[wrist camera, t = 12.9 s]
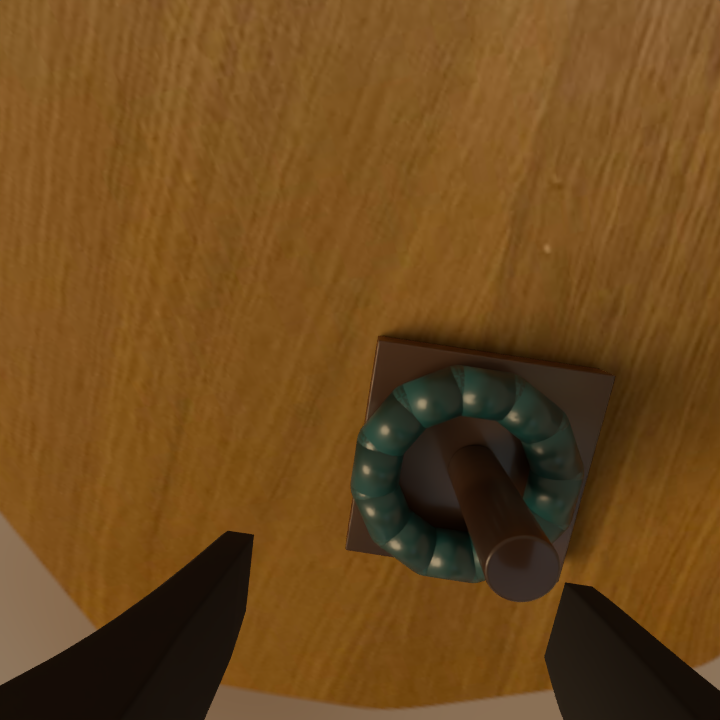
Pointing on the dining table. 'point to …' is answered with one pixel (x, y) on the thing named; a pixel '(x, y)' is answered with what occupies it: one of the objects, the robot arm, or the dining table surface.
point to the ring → (437, 405)
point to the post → (485, 463)
